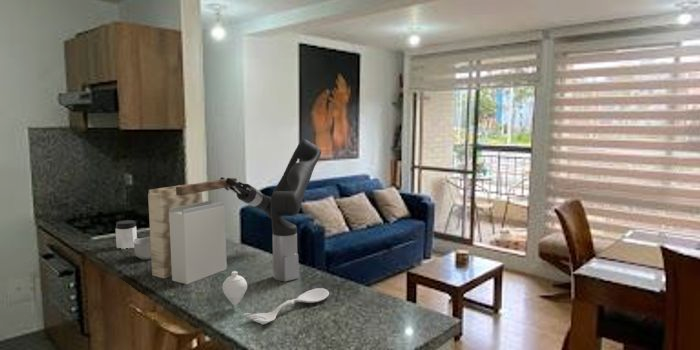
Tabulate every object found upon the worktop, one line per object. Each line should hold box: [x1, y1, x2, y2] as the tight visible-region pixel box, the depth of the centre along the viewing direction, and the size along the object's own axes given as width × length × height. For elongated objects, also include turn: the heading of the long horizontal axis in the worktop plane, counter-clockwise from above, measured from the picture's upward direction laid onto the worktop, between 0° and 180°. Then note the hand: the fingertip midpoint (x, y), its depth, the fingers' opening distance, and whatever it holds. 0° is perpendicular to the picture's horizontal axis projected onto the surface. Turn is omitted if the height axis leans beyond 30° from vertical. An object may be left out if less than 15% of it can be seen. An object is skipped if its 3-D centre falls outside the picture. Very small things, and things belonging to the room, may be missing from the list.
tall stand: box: [147, 183, 204, 279], centre depth 184 cm, size 20×7×34 cm, turn 150°
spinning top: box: [221, 270, 248, 309], centre depth 147 cm, size 8×8×12 cm
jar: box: [115, 219, 138, 250], centre depth 219 cm, size 9×8×12 cm
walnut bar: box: [176, 177, 238, 195], centre depth 181 cm, size 28×3×3 cm, turn 150°
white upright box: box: [169, 200, 228, 285], centre depth 179 cm, size 20×8×28 cm, turn 150°
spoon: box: [242, 287, 330, 325], centre depth 147 cm, size 9×32×4 cm, turn 142°
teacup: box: [133, 236, 151, 260], centre depth 203 cm, size 14×11×8 cm
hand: (224, 179), depth 188 cm, fingers closed on walnut bar, 3 cm apart
